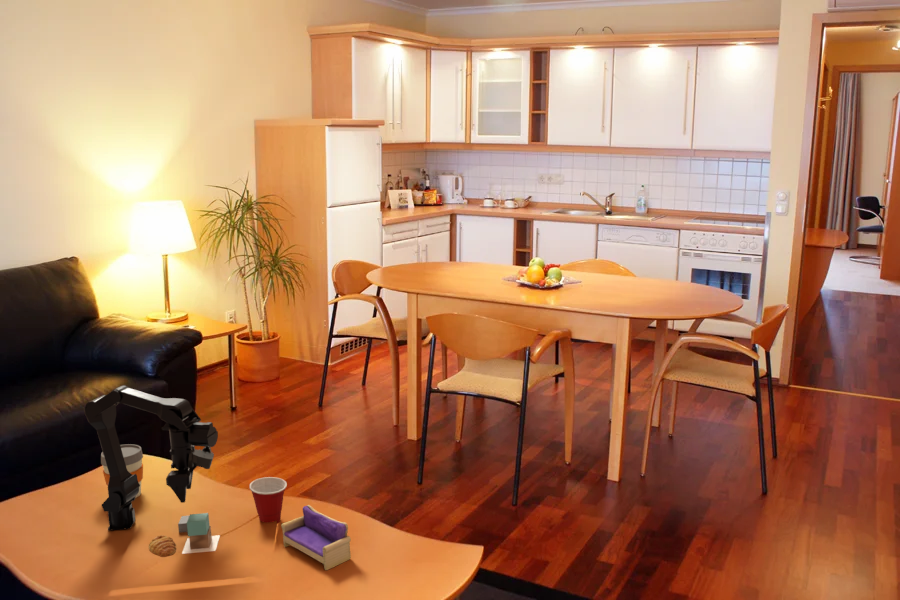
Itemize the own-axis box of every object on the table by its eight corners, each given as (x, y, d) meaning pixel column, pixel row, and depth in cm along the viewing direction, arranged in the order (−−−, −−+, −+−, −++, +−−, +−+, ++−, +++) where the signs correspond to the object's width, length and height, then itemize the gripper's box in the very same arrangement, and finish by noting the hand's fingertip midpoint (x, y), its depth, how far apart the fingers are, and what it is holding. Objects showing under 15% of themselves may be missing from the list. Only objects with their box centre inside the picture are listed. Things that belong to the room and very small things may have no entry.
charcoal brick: (179, 536, 239) (178, 523, 239) (183, 528, 244) (181, 516, 244) (197, 535, 240) (195, 522, 239) (200, 527, 245) (199, 514, 244)
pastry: (182, 556, 228) (181, 543, 228) (157, 564, 224) (156, 551, 224) (170, 543, 236) (169, 531, 235) (146, 551, 232) (145, 538, 231)
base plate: (182, 557, 227) (181, 553, 227) (187, 541, 236) (187, 538, 236) (215, 554, 228) (215, 550, 228) (220, 539, 237) (220, 535, 237)
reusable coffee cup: (111, 488, 274) (106, 445, 271) (151, 485, 275) (146, 442, 272) (100, 505, 261) (94, 460, 258) (141, 502, 263) (136, 457, 260)
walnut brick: (190, 549, 229) (189, 536, 228) (193, 540, 234) (192, 527, 233) (209, 547, 230) (207, 534, 229) (211, 539, 234) (210, 526, 234)
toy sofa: (281, 546, 232) (279, 512, 230) (307, 535, 238) (305, 502, 236) (326, 572, 217) (324, 536, 215) (352, 560, 223) (350, 524, 221)
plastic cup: (277, 532, 240) (274, 493, 238) (245, 527, 244) (241, 488, 241) (296, 515, 250) (293, 478, 248) (265, 511, 254) (262, 474, 251)
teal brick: (188, 536, 228) (186, 522, 227) (191, 527, 233) (189, 514, 232) (206, 534, 229) (205, 521, 228) (209, 526, 234) (208, 512, 233)
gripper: (205, 454, 229) (209, 507, 232) (215, 430, 247) (219, 480, 250) (163, 457, 227) (168, 510, 230) (176, 433, 245) (181, 483, 248)
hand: (186, 495), depth 240 cm, fingers open, 9 cm apart
